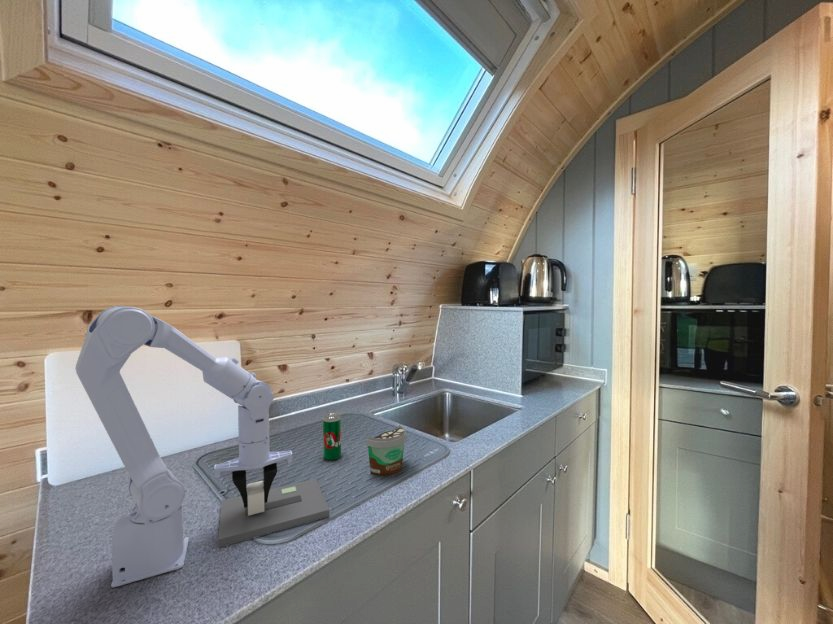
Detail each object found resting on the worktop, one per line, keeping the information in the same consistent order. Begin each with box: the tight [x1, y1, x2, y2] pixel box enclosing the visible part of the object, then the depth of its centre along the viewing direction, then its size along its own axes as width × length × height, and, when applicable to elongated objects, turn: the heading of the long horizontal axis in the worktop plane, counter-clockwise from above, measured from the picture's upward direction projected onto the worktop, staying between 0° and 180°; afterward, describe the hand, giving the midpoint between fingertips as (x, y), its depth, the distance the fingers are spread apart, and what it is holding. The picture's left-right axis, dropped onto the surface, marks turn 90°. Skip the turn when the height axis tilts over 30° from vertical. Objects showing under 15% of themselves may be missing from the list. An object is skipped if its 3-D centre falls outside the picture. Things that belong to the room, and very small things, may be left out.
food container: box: [365, 424, 408, 477], centre depth 92 cm, size 12×6×10 cm, turn 137°
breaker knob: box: [246, 480, 264, 516], centre depth 73 cm, size 3×5×4 cm, turn 27°
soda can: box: [322, 412, 342, 461], centre depth 100 cm, size 5×5×12 cm
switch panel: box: [217, 478, 330, 548], centre depth 75 cm, size 20×14×2 cm
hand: (255, 502), depth 73 cm, fingers closed on breaker knob, 3 cm apart
